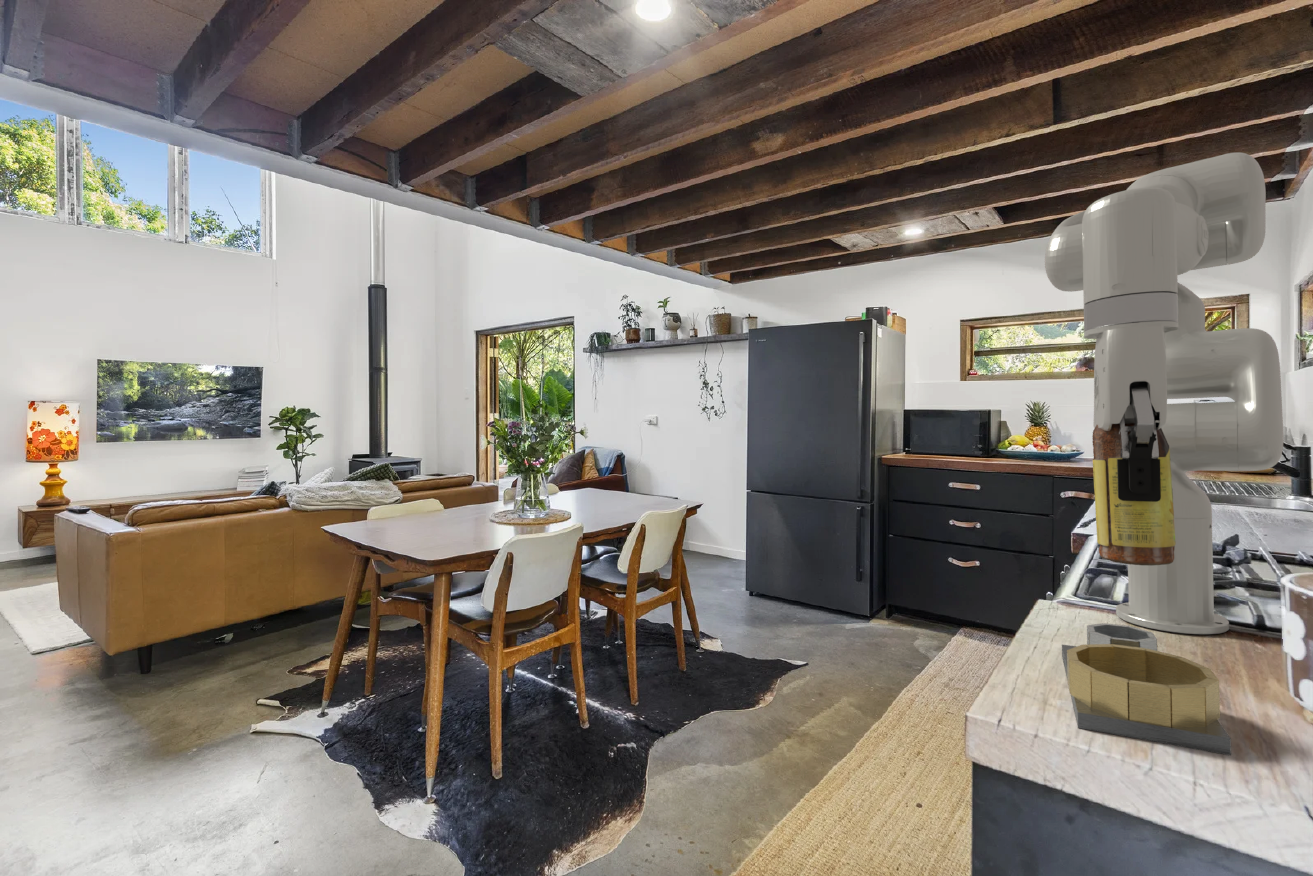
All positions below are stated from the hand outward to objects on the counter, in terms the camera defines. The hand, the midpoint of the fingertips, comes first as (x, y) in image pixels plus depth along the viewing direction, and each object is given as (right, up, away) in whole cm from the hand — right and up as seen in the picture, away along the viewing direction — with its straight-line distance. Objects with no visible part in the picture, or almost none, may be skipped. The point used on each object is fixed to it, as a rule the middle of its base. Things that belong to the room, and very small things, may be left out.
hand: (1132, 495), depth 62 cm
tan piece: (+2, -22, +3) cm, 22 cm away
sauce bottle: (0, -7, 0) cm, 7 cm away
